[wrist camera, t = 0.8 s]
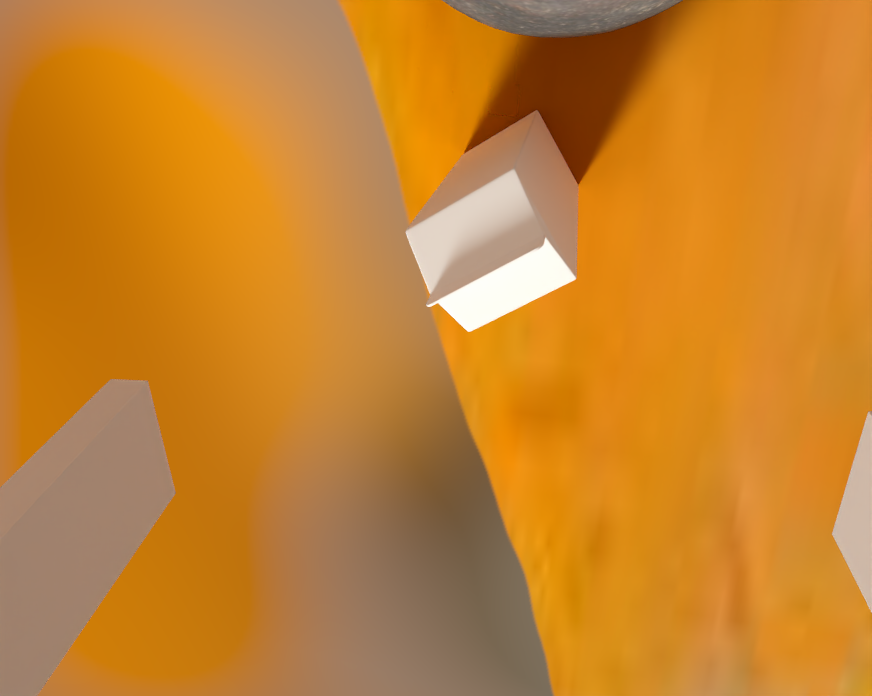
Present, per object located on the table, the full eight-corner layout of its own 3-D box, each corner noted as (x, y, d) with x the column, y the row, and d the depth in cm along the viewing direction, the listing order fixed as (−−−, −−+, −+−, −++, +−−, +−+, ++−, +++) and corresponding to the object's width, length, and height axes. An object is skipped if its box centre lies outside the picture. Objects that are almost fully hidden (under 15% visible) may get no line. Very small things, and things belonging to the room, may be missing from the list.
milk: (462, 154, 51) (384, 249, 32) (538, 107, 49) (505, 180, 29) (505, 227, 53) (457, 362, 33) (581, 186, 51) (577, 304, 31)
